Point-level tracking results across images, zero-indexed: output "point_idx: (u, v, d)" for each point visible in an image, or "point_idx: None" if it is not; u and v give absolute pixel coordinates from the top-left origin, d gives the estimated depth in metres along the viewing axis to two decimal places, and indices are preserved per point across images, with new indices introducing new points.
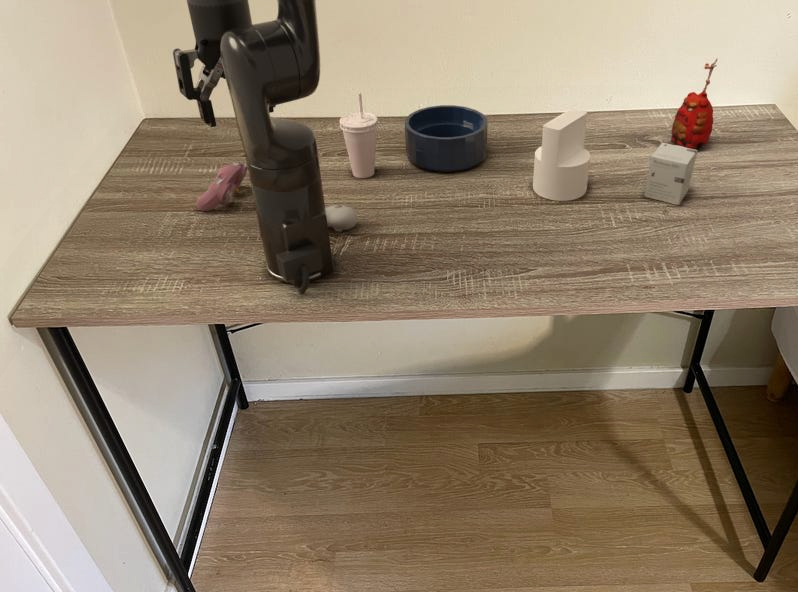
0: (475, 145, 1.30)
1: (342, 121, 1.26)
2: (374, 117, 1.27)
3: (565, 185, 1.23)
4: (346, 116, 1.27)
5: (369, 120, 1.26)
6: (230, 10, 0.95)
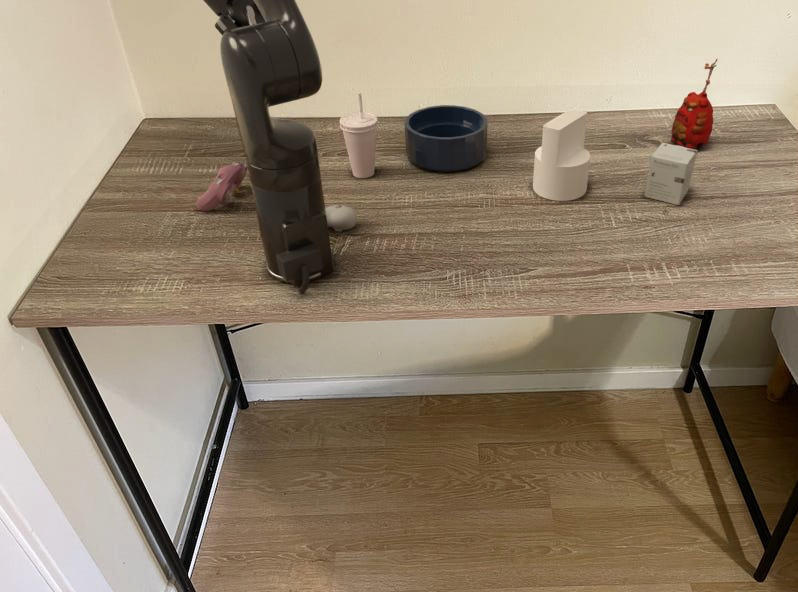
0: (475, 145, 1.30)
1: (342, 121, 1.26)
2: (374, 117, 1.27)
3: (565, 185, 1.23)
4: (346, 116, 1.27)
5: (369, 120, 1.26)
6: None
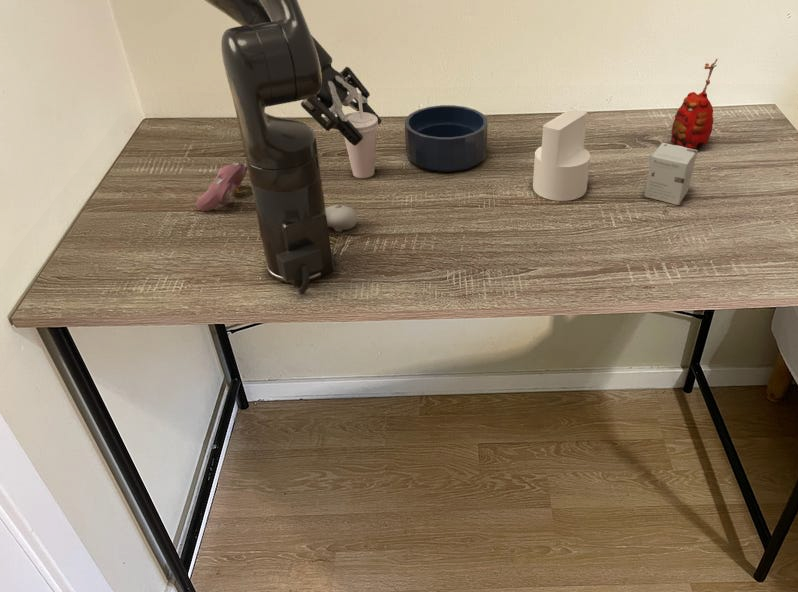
0: (475, 145, 1.30)
1: None
2: (374, 117, 1.27)
3: (565, 185, 1.23)
4: (346, 116, 1.27)
5: (369, 120, 1.26)
6: (313, 43, 1.20)
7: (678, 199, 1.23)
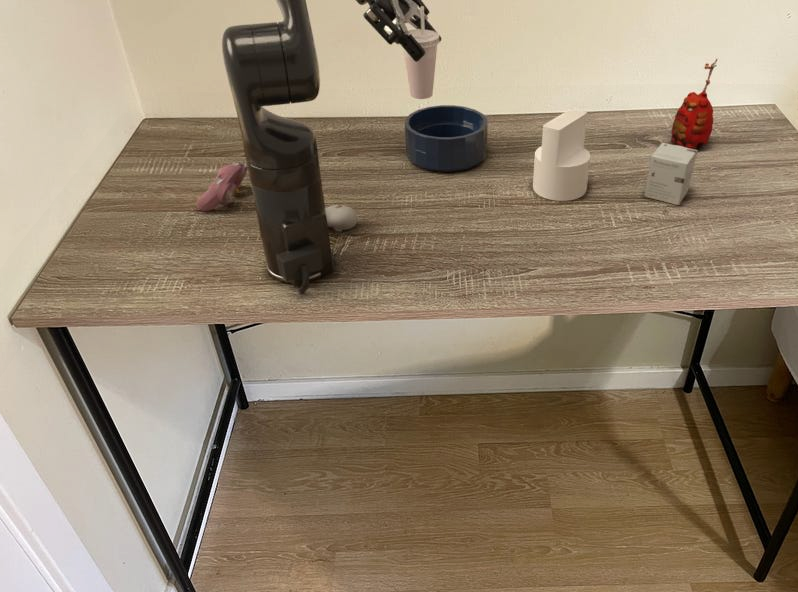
0: (475, 145, 1.30)
1: None
2: (435, 34, 1.23)
3: (565, 185, 1.23)
4: None
5: (431, 36, 1.22)
6: None
7: (678, 199, 1.23)
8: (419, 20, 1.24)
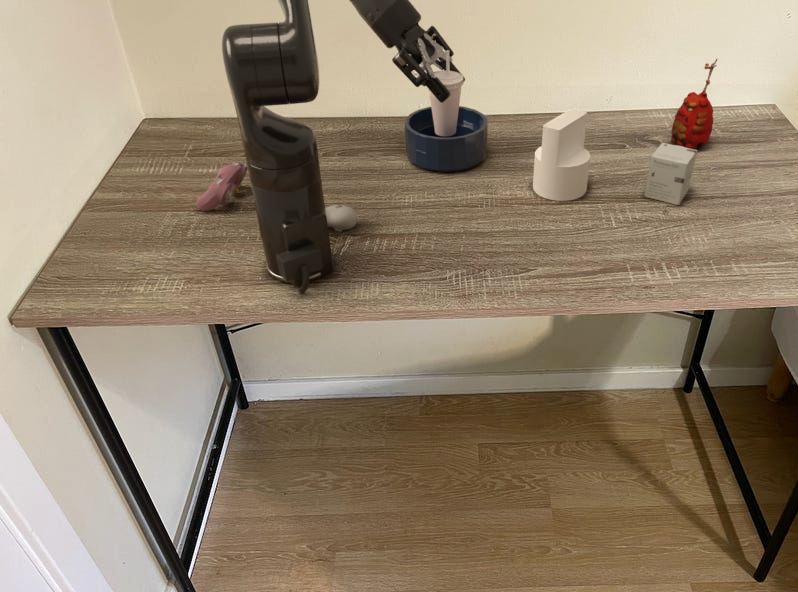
0: (475, 145, 1.30)
1: None
2: (459, 75, 1.29)
3: (565, 185, 1.23)
4: None
5: (455, 78, 1.28)
6: None
7: (678, 199, 1.23)
8: (444, 62, 1.30)
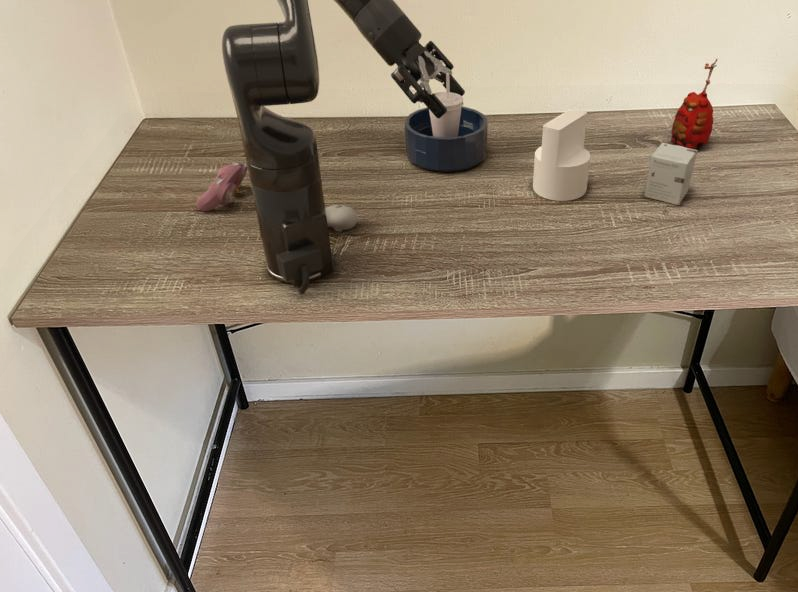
0: (475, 145, 1.30)
1: None
2: (459, 97, 1.31)
3: (565, 185, 1.23)
4: None
5: (455, 99, 1.30)
6: (405, 18, 1.24)
7: (678, 199, 1.23)
8: (444, 75, 1.32)
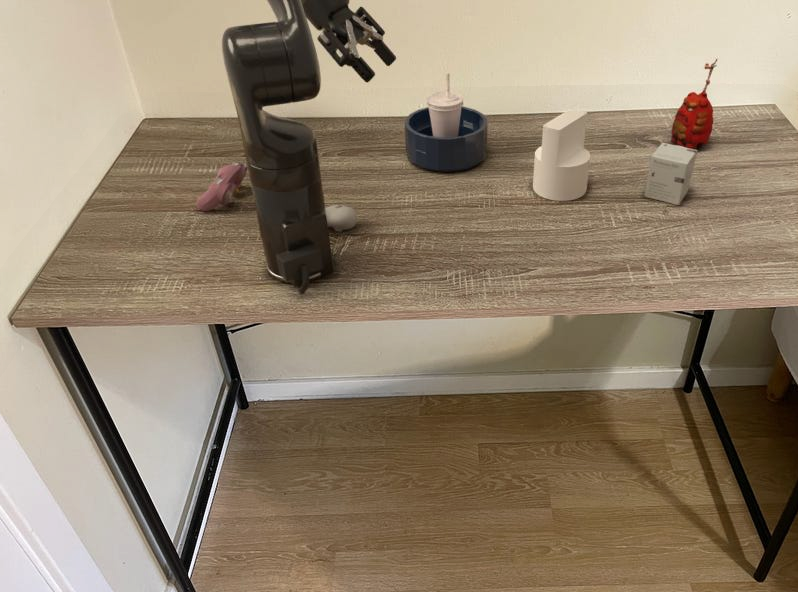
0: (475, 145, 1.30)
1: (429, 100, 1.30)
2: (459, 97, 1.31)
3: (565, 185, 1.23)
4: (432, 96, 1.32)
5: (455, 99, 1.30)
6: None
7: (678, 199, 1.23)
8: (375, 40, 1.33)
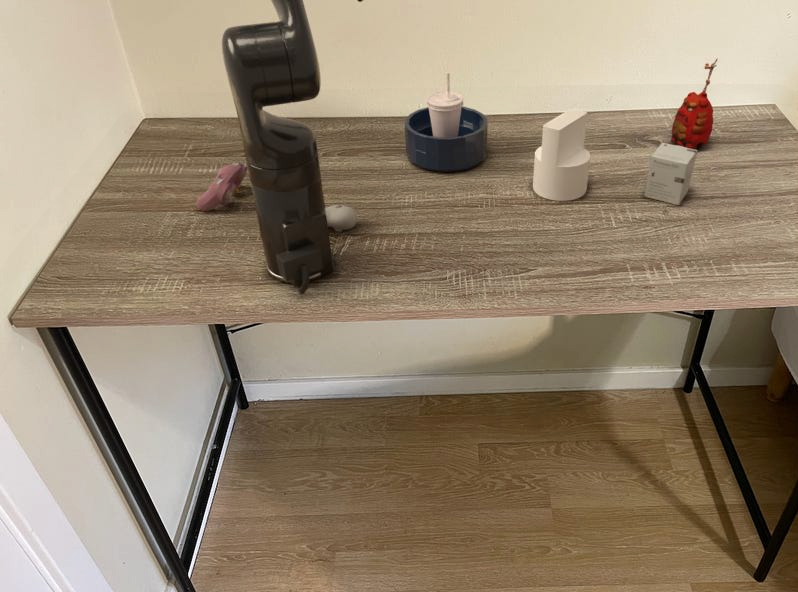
0: (475, 145, 1.30)
1: (429, 100, 1.30)
2: (459, 97, 1.31)
3: (565, 185, 1.23)
4: (432, 96, 1.32)
5: (455, 99, 1.30)
6: None
7: (678, 199, 1.23)
8: None
